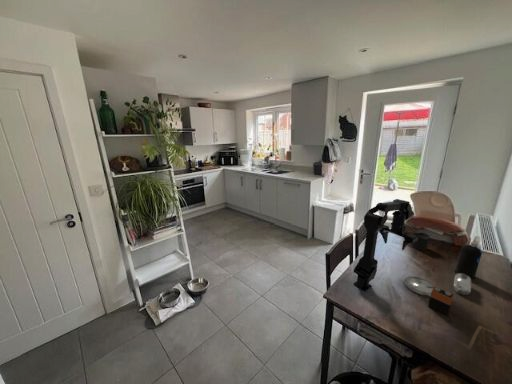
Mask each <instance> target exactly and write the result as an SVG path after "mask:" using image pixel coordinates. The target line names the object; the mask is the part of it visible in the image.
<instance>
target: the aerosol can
mask: <svg viewBox="0 0 512 384" xmlns="http://www.w3.org/2000/svg"><path fill="white" fill-rule="evenodd" d="M460 248H461V249H460V252H459V257H458V260H457V263H456V268H455V270H454V273H455V275H456V274H459V273H462V274H466V275H467V276H469V277H470V278H471V280H475V279H476V274H477V272H478V271H477V270H478V268H479V265H480V261H481V258H482V254H483V251H482V250H481V248H479V247H478V246H477V242H475V241H471V242H470V244H465V245H464V244H463V245H462V246H460Z"/></svg>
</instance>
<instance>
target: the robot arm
mask: <svg viewBox="0 0 512 384" xmlns="http://www.w3.org/2000/svg"><path fill="white" fill-rule="evenodd" d="M379 211H380V212H383V213H384V215H383V216H382V215H378V214H376V213H378V212H379ZM389 212H392V213H391V214H392V221H391V222H390V225H391V228H390V226H389V225H386V222H387V221H388V213H389ZM414 216H415V213H414V211H413V208H412V205H411V203H410V201H407V200H403V199H398V198H395V199H393V200H392V201H389V202H378V203H377V204H376V205H375V206H374V207H371V208H370V209H368V210H367V212H366V213H365V215H364V217H363V225H364V228H365V230H366V232H365V242H364V247H363V248H364V249H363V255H362V257H360V258H359V260H358V262H357V264H356V265H355V267H354V269H353V273H354V274H356V275H357V277H356V278H357V279H356V281H355V282H353V285H354V286H355V287H357V288H358V289H360V290H362V291H364V292H367V291H368V290H369V289H371V288H372V284H370V282H371V281H373V280H374V279H375V277H376V274H377V271H378V264H379V262H378V259H376V258H375V253H376V248H377V241H378V234H380V235H381V237H382V238H383V242H384V244H385V245H386V244H387V243H388V236H389V233H390V234H393V235H396V236H398V237H402V238H403V239H404V240H403V241H402V246H401V251H404V250H405V249H406V248H407V247H408V245H411V243H414V242H416V241H417V240H418V237H417V236H416V235H413V233H408V231H409V228H410V227H409V226H408V225H406V221H407V220H409V219H412V218H413V217H414ZM405 233H408V234H405Z"/></svg>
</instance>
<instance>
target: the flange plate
mask: <svg viewBox="0 0 512 384" xmlns="http://www.w3.org/2000/svg"><path fill="white" fill-rule="evenodd" d="M404 285H405V287H406V288H408V290H410V291H411V292H413V293H415V294H417V295H420V296H423V297H426V298H430V296H431V292H432V289H433V288H434V287H437V286H436V285H435V284H434V283H432V282H431V281H429V280H427V279H425V278H421V277H418V276H407V277H405V279H404Z"/></svg>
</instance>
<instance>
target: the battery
mask: <svg viewBox="0 0 512 384" xmlns="http://www.w3.org/2000/svg"><path fill="white" fill-rule="evenodd" d="M454 295H455V294H454V293H451V291H448V290H445V289H442V288H440V287H438V286H436V287H434V288H433V289H432V292H431V296H430V297H429V302H428V305H427V306H428V308H430V309H432V310H435V311H437V312H439V313H441V314H443V315H445V316H449V313H450V311H451V307H452V303H453V300H454Z"/></svg>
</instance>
